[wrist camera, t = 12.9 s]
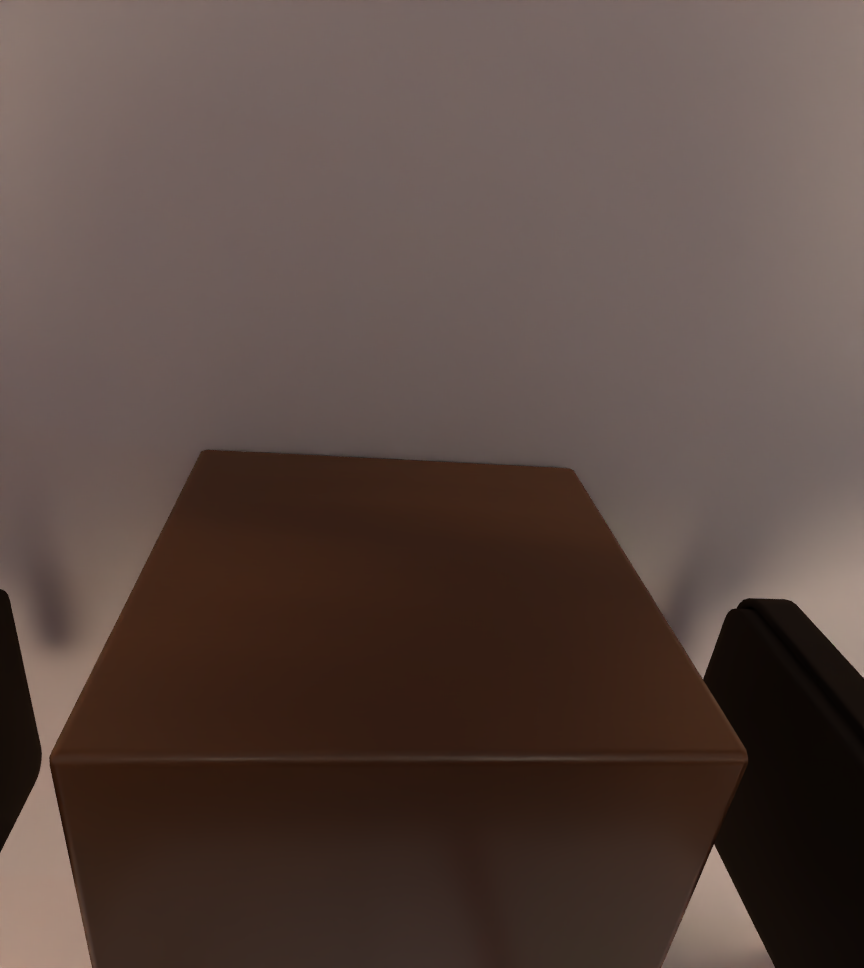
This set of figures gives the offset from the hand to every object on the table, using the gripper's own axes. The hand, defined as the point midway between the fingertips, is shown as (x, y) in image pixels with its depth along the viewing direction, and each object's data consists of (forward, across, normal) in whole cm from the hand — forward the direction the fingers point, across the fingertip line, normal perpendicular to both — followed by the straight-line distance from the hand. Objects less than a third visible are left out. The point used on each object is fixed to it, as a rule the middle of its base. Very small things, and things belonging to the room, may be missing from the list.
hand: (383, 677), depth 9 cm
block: (+1, 0, 0) cm, 1 cm away
